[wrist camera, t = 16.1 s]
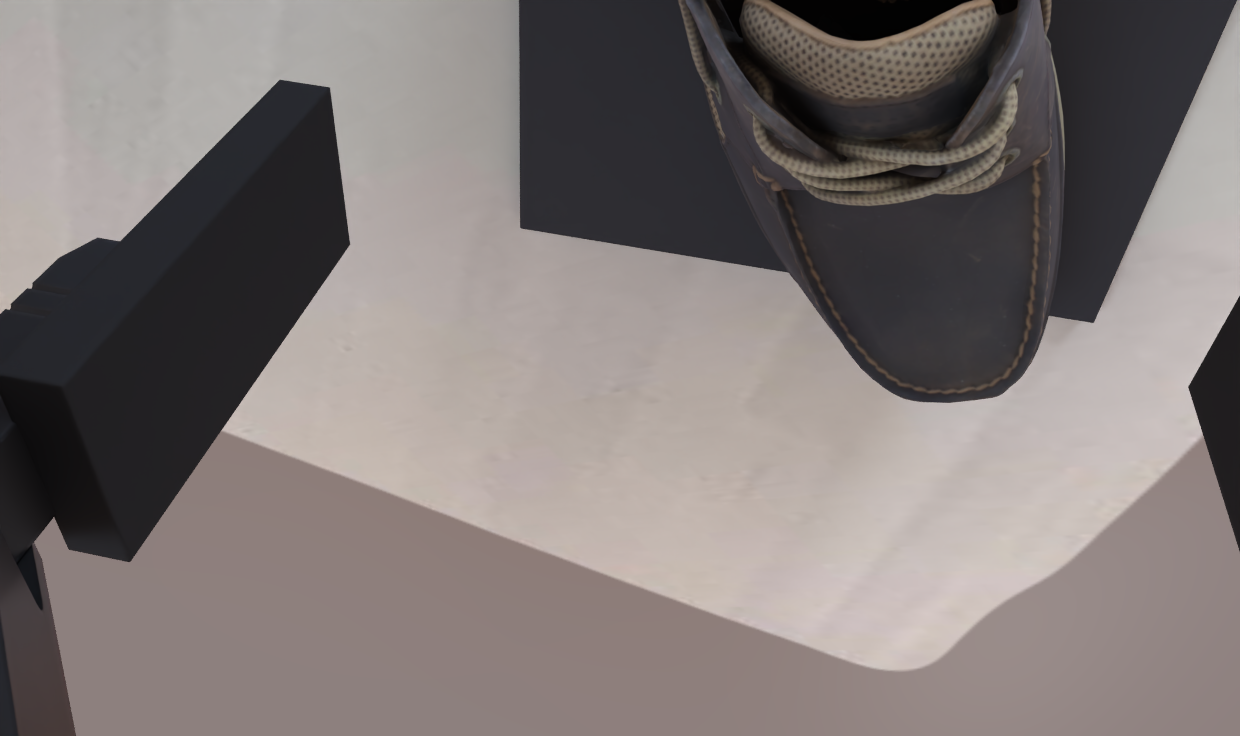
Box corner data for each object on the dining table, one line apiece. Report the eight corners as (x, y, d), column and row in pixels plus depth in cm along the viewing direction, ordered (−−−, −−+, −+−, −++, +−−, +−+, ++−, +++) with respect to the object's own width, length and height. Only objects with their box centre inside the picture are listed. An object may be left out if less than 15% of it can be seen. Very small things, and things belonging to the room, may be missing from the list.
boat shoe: (814, 352, 43) (793, 555, 35) (482, -515, 27) (306, -511, 19) (1106, 295, 38) (1160, 511, 30) (910, -774, 23) (912, -909, 15)
